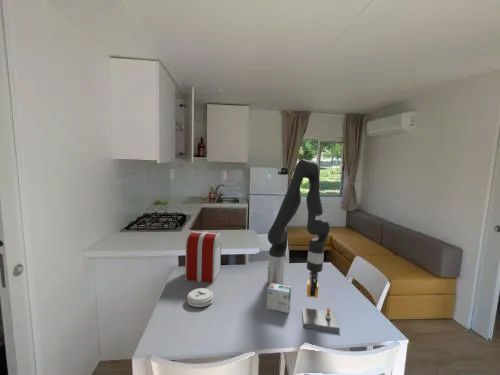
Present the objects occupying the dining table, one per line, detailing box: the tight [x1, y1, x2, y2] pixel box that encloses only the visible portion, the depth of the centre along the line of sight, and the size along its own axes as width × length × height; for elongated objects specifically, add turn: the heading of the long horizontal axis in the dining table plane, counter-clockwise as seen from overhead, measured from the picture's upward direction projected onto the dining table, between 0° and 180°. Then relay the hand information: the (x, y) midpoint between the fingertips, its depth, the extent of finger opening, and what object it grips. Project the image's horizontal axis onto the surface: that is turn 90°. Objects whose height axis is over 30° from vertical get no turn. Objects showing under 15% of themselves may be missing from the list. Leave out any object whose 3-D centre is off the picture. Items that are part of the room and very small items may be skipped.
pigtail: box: [326, 307, 331, 320], centre depth 117 cm, size 2×2×4 cm
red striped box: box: [184, 230, 222, 284], centre depth 158 cm, size 16×18×27 cm
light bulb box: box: [266, 283, 292, 314], centre depth 127 cm, size 11×7×11 cm, turn 71°
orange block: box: [306, 279, 319, 299], centre depth 129 cm, size 5×5×6 cm
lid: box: [187, 287, 214, 308], centre depth 131 cm, size 13×13×5 cm
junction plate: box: [301, 307, 341, 333], centre depth 118 cm, size 15×12×2 cm
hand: (312, 292), depth 129 cm, fingers closed on orange block, 5 cm apart
